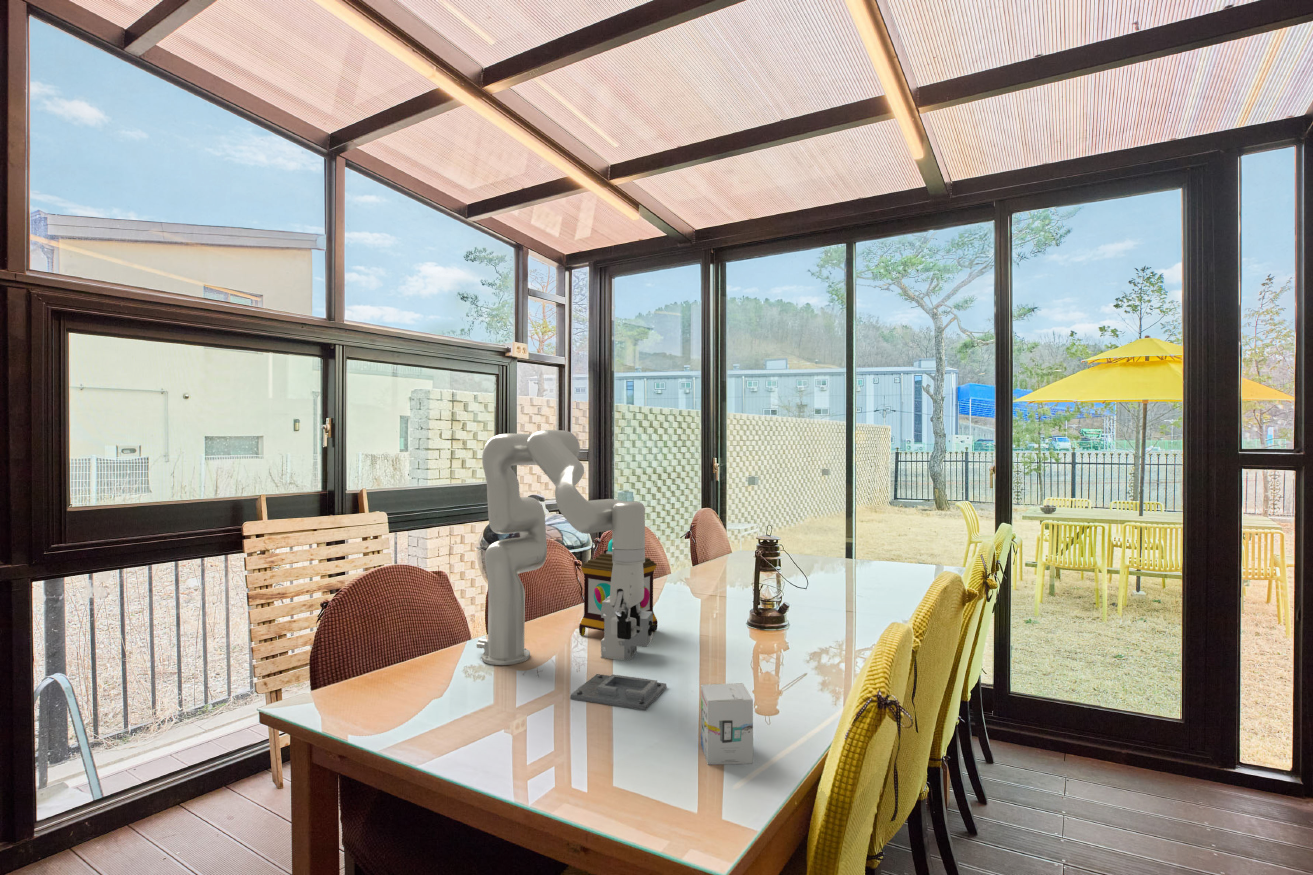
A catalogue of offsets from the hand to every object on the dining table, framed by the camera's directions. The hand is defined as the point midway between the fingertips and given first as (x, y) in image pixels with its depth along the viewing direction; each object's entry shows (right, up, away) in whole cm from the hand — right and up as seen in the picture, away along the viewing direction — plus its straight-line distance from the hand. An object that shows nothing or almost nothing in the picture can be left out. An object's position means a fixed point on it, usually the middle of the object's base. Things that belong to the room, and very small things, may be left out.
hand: (628, 634), depth 150 cm
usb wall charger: (0, -1, 0) cm, 1 cm away
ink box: (+19, -14, -28) cm, 37 cm away
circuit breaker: (-1, -14, +28) cm, 31 cm away
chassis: (-2, -14, +1) cm, 14 cm away
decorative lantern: (-5, -14, +49) cm, 51 cm away
